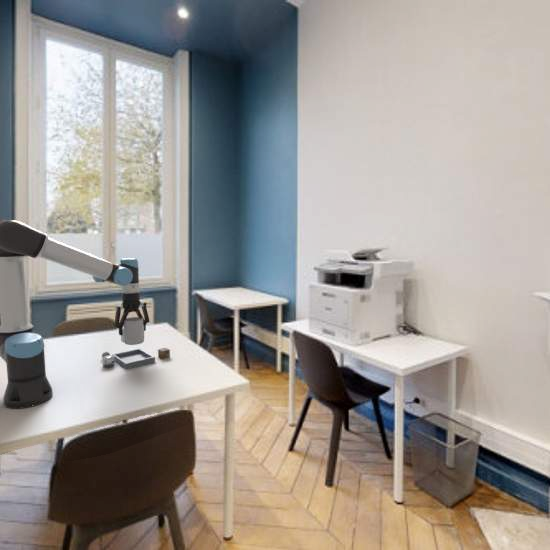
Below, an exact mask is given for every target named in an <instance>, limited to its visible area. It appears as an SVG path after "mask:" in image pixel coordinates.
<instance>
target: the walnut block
mask: <svg viewBox="0 0 550 550" xmlns="http://www.w3.org/2000/svg"><path fill="white" fill-rule="evenodd" d="M157 357H158V358H159V359H161V360H165V359H169V358H171V351H170V349H169V348H168V347H163V348H158V349H157Z"/></svg>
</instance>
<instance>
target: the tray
mask: <svg viewBox="0 0 550 550" xmlns="http://www.w3.org/2000/svg"><path fill="white" fill-rule="evenodd" d="M111 355H112V356H114V361H115V362H116V363H117V364H118V365H120V366H121V367H122V368H124V369H125V370H128V369H132V368H135V367H140V366H144V365H148V364H153V363H156V357H155V356H154V355H152V354H150V353H149V352H147V351H146V350H143V349H142V348H137V349H132V350H126V351H122V352H117V353H112V354H111Z"/></svg>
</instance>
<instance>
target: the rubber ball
mask: <svg viewBox="0 0 550 550" xmlns="http://www.w3.org/2000/svg"><path fill="white" fill-rule="evenodd" d="M108 355H111V354H110V352H109V351H105V352H103V353H102V354H101V358H102V357H104V356H108Z"/></svg>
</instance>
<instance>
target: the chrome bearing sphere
mask: <svg viewBox="0 0 550 550" xmlns="http://www.w3.org/2000/svg"><path fill="white" fill-rule="evenodd" d="M101 360H102V367H103V368H105V369H106V368H107V369H108V368H113V367H115V361H114V356H112V354H110V355H108V356H104V357H102V356H101Z"/></svg>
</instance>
